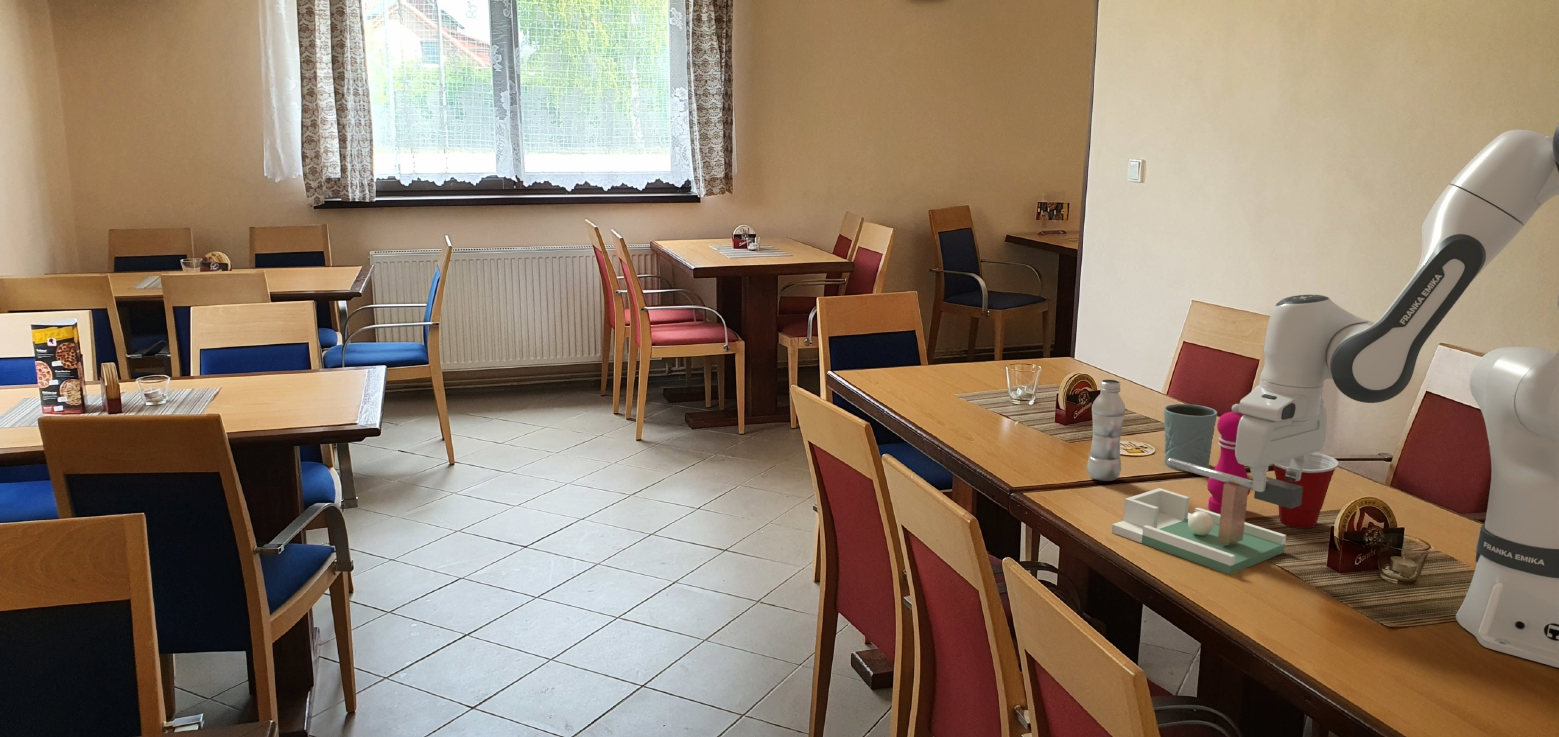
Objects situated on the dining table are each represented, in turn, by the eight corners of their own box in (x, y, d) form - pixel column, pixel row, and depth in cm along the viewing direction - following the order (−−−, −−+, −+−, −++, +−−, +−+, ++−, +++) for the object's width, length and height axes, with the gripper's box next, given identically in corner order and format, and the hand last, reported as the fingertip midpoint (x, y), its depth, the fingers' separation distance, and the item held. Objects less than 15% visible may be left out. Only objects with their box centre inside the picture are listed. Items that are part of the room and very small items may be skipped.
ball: (1217, 535, 179) (1219, 512, 178) (1203, 540, 176) (1205, 517, 176) (1195, 528, 182) (1197, 506, 181) (1181, 533, 180) (1184, 510, 179)
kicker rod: (1296, 557, 168) (1304, 486, 165) (1282, 563, 166) (1291, 490, 163) (1169, 515, 186) (1175, 450, 183) (1155, 520, 183) (1161, 454, 181)
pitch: (1284, 552, 176) (1287, 520, 175) (1229, 574, 167) (1233, 541, 165) (1166, 513, 193) (1169, 484, 192) (1111, 532, 184) (1114, 502, 183)
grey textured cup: (1219, 473, 217) (1224, 416, 214) (1169, 472, 217) (1174, 415, 214) (1200, 458, 227) (1206, 403, 224) (1152, 457, 227) (1157, 403, 224)
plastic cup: (1250, 512, 194) (1258, 449, 191) (1307, 511, 195) (1315, 448, 193) (1284, 534, 184) (1292, 468, 181) (1343, 533, 185) (1352, 467, 182)
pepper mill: (1251, 518, 191) (1263, 410, 187) (1209, 514, 193) (1220, 407, 189) (1243, 504, 198) (1254, 400, 194) (1201, 501, 200) (1212, 398, 195)
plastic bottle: (1124, 477, 213) (1132, 380, 209) (1114, 486, 208) (1122, 386, 203) (1091, 472, 217) (1099, 376, 212) (1081, 480, 211) (1089, 382, 207)
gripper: (1303, 387, 172) (1292, 469, 175) (1232, 402, 161) (1221, 490, 164) (1343, 396, 167) (1330, 480, 170) (1272, 412, 156) (1260, 502, 159)
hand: (1276, 485), depth 167 cm, fingers open, 8 cm apart
